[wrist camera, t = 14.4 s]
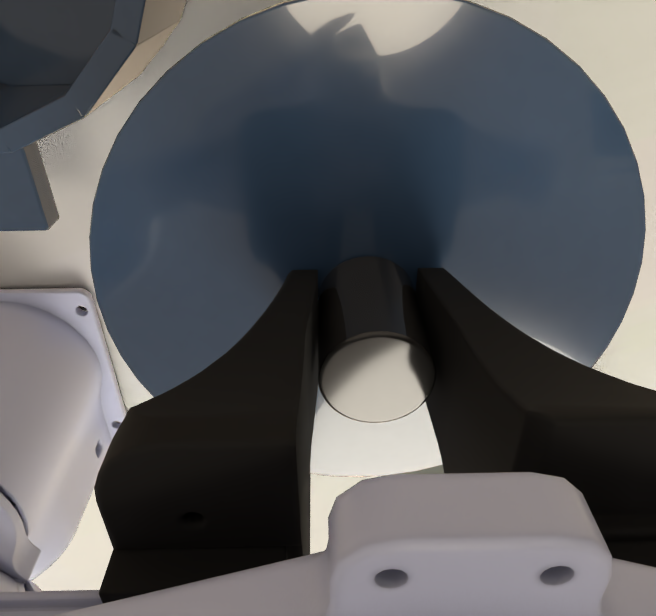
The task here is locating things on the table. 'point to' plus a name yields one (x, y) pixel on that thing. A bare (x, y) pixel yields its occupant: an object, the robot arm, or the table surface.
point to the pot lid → (366, 204)
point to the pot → (64, 82)
